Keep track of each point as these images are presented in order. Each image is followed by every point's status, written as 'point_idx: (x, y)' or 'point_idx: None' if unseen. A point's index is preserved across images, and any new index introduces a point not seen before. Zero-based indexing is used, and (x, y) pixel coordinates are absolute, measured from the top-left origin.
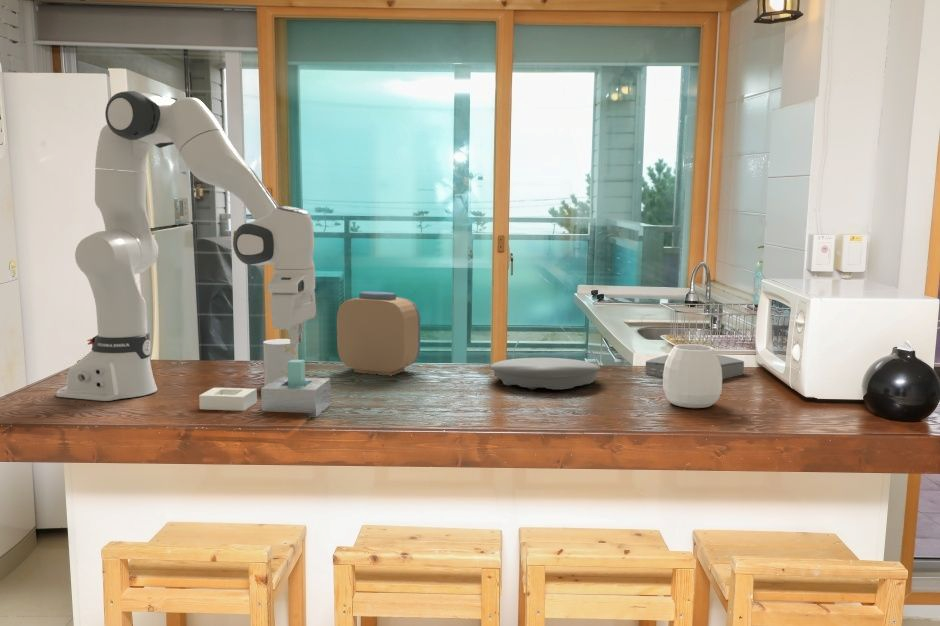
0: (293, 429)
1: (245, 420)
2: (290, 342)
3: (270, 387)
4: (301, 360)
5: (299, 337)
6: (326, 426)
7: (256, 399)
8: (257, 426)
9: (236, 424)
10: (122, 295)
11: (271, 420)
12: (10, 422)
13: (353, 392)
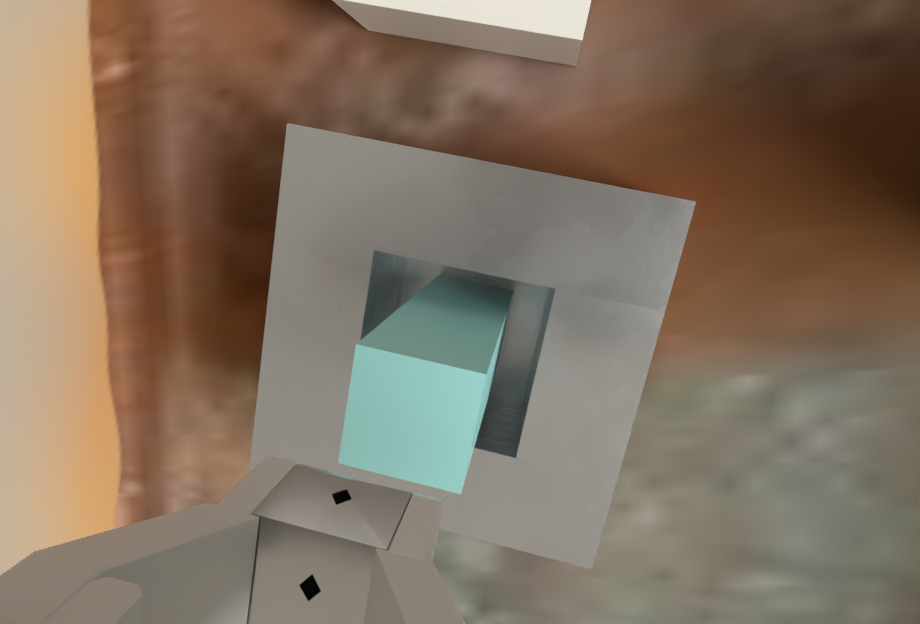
0: (116, 327)
1: (257, 65)
2: (262, 466)
3: (315, 187)
4: (432, 464)
5: (292, 622)
6: (170, 460)
7: (569, 55)
8: (151, 153)
9: (180, 33)
10: None
11: (260, 205)
12: None
13: (868, 596)
